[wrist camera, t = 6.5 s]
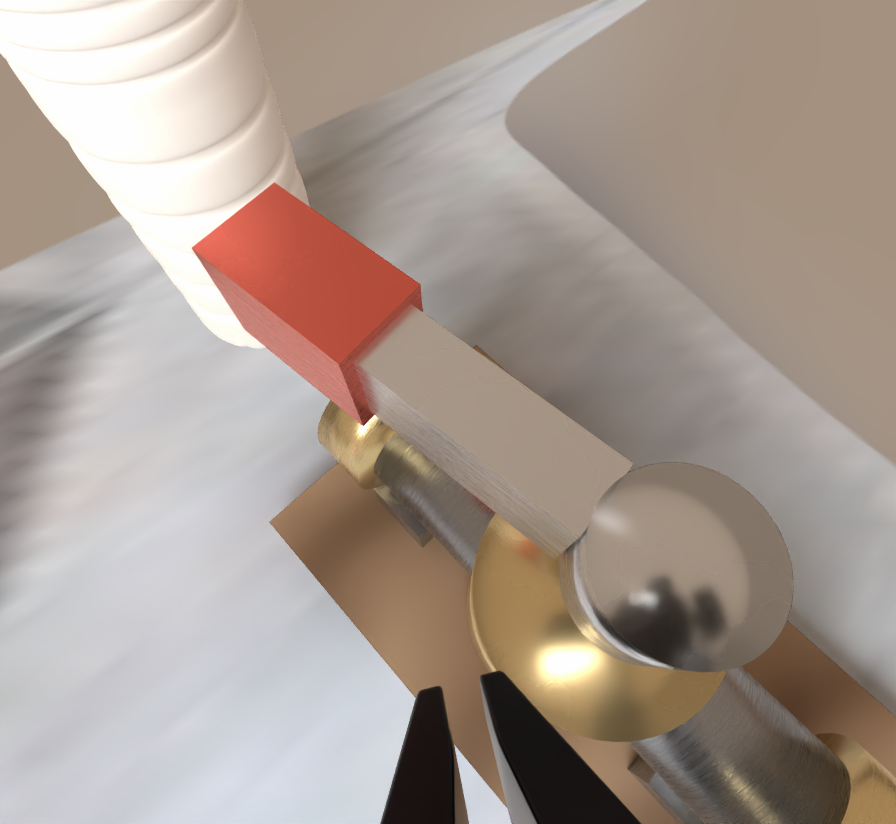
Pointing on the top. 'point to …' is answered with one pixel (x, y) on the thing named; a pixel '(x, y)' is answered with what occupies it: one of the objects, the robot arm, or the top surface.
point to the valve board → (459, 668)
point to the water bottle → (160, 118)
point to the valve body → (616, 666)
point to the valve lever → (512, 447)
